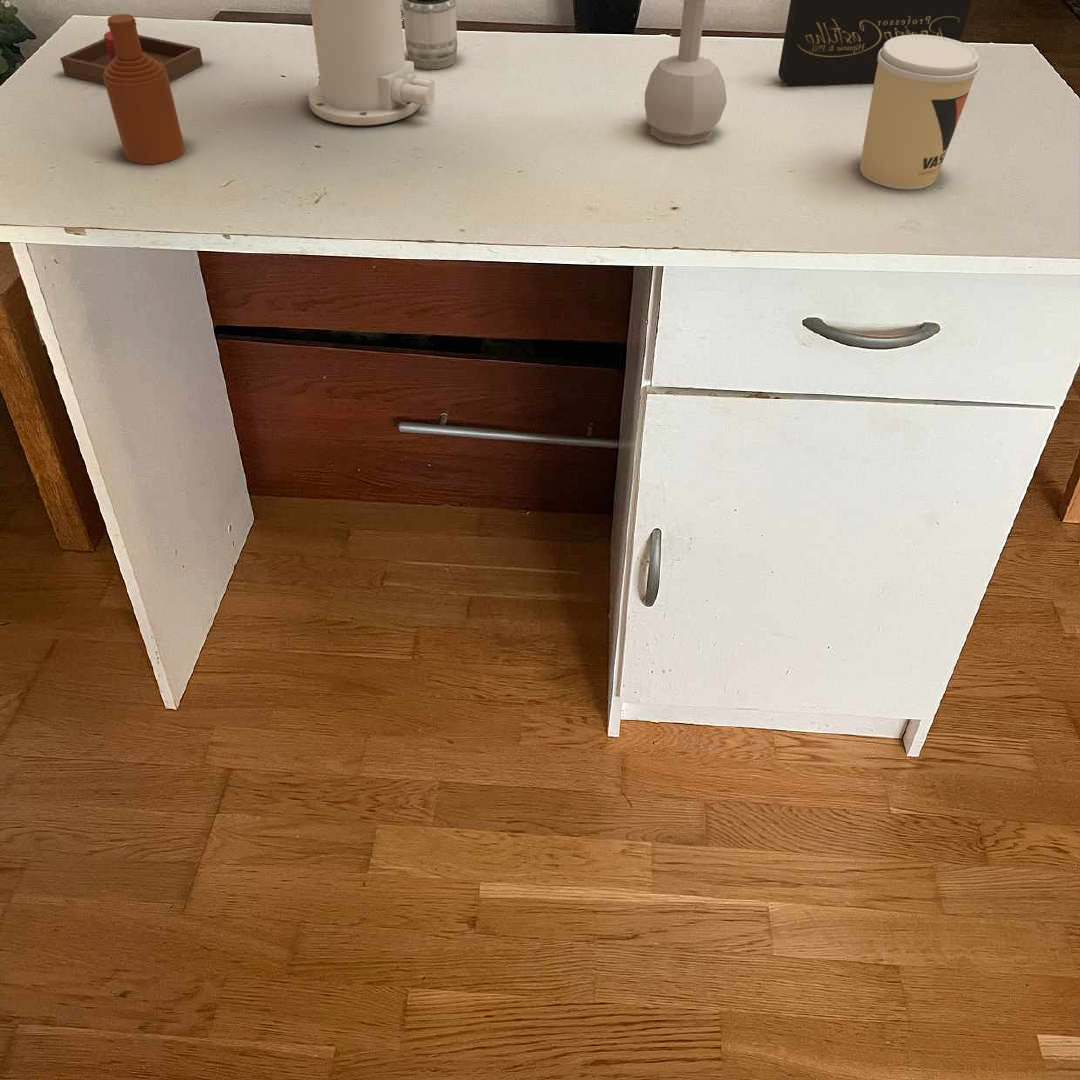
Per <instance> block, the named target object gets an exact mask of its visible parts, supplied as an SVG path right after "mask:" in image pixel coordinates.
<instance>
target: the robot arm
mask: <svg viewBox="0 0 1080 1080" xmlns="http://www.w3.org/2000/svg"><path fill="white" fill-rule="evenodd" d="M308 1H309V9H310V14H311V23H312V30H313V37H314V45H315V52H316V59H317V65H318V66H317V68H318V74H319V81H320V83H318V84H317V85H315V86H314V88H312V89H311V90H310V92H309V94H308V104H309V107H310V110H311V112H312V113H313V114H314V115H315V116H318V117H319V118H320V119H323V120H325V121H327V122H329V123H335V124H339V125H345V126H347V125H348V126H378V125H384V124H388V123H392V122H397V121H399V120H403V119H405V118H408V117H409V116H412V115H413V114H414V113H416V111H417V110H419V109H420V107H421V106H424V107H428V108H429V107H432V105H433V104H434V100H435V89H436V83H435V81H434V80H432V79H426V78H418V77H417V75H416V74H415V66H414V62H411V61H410V60H407V59H406V57H405V54H406V53H405V43H404V31H403V17H402V7H401V0H308Z"/></svg>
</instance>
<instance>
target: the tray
mask: <svg viewBox="0 0 1080 1080" xmlns="http://www.w3.org/2000/svg"><path fill="white" fill-rule="evenodd" d="M138 36H139V40H140V44H141V48H142V52H144V53H146V54H147V55H149V56H151V57H152V58H154V59H156V60H157V61H159V62H161V63H162V65H163V66H164V67H165V68H166V71H167V75H168V79H169V83H171V82H172V81H175V80H177V79H178V78H181V77H183V76H184V75H187V74H188V73H190V72H192V71H194V70H196V69H198V68H200V67H202V66H204V62H203V56H202V53H201V48H200V47H198V46H194V45H188V44H184V43H179V42H174V41H171V40H165V39H161V38H155V37H151V36H150V37H149V36H146V35H140V34H138ZM60 62H61V66H62V70H63V72H64V76H66V77H71V78H75V79H79V80H83V81H88V82H92V83H97V84H100V85H105V82H104V79H103V74H104V69H105V68H106V67H107V66H108V64H109V63H110V62H111V61H110V57H109V53H108V50H107V46H106V42H105V39H104V38H102V39H100V40H98V41H95V42H93V43H91V44H89V45H86V46H84V47H81V48H80V49H77V50H75V51H73V52H71V53H68V54H66V55H64V56H61V57H60Z"/></svg>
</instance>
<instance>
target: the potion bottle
mask: <svg viewBox="0 0 1080 1080" xmlns="http://www.w3.org/2000/svg"><path fill="white" fill-rule="evenodd" d="M705 7H706V0H683V7H682V16H681V26H680V34H679V35H680V36H679V37H680V38H679V45H678V54H674V55H670V56H668V57H666V58H662V59H660V60H659V61H658V62H657V64H656V66H655V67H654V68H653V70H652V72H651V73H650V75H649V78H648V81H647V85H646V89H645V91H644V110H645V117H646V123H647V124H649V125H650V135H651V136H653V137H654V138H657V139H658V140H660V141H662V142H664V143H669V144H678V145H692V144H693V145H694V144H696V143H702V142H706V141H708V140H709V138H710V137H711V135H712V134H713V132H714V128H715V127H716V126H717V124H718V123H719V122H720V121H721V118H722V116H723V113H724V110H725V108H726V105H727V103H728V101H727V92H726V91H727V90H726V83H725V80H724V78H723V75H722V73H721V71H720V69H719V67H718V66H717V65H716V64H715V62H713V61H712V60H711V59H710V58H706V57H702V56H700V50H701V41H702V33H703V25H704V16H705Z"/></svg>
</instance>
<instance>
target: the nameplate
mask: <svg viewBox="0 0 1080 1080" xmlns="http://www.w3.org/2000/svg"><path fill="white" fill-rule="evenodd" d="M972 1H973V0H790V2H789V7H788V13H787V19H786V26H785V32H784V38H783V43H782V48H781V55H780V59H779V66H778V72H777V73H778V74H777V75H778V78H779V79H780V80H781V81H782V83H783V84H784V85H785V86H786V87H789V88H790V87H811V86H813V87H814V86H815V87H816V86H835V85H837V86H839V85H861V84H863V85H864V84H865V85H866V84H874V81H875V76H876V71H877V66H878V60H877V59H878V53H879V51H880V49H881V48H883V45H884V44H885V43H886V42H887V41H888V40H890V39H891V38H894V37H898V36H903V35H933V36H940V37H945V38H949V39H953V40H957V41H960V42H961V40H962V36H963V33H964V29H965V27H966V26H965V25H966V23H967V18H968V15H969V12H970V8H971V5H972Z"/></svg>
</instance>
